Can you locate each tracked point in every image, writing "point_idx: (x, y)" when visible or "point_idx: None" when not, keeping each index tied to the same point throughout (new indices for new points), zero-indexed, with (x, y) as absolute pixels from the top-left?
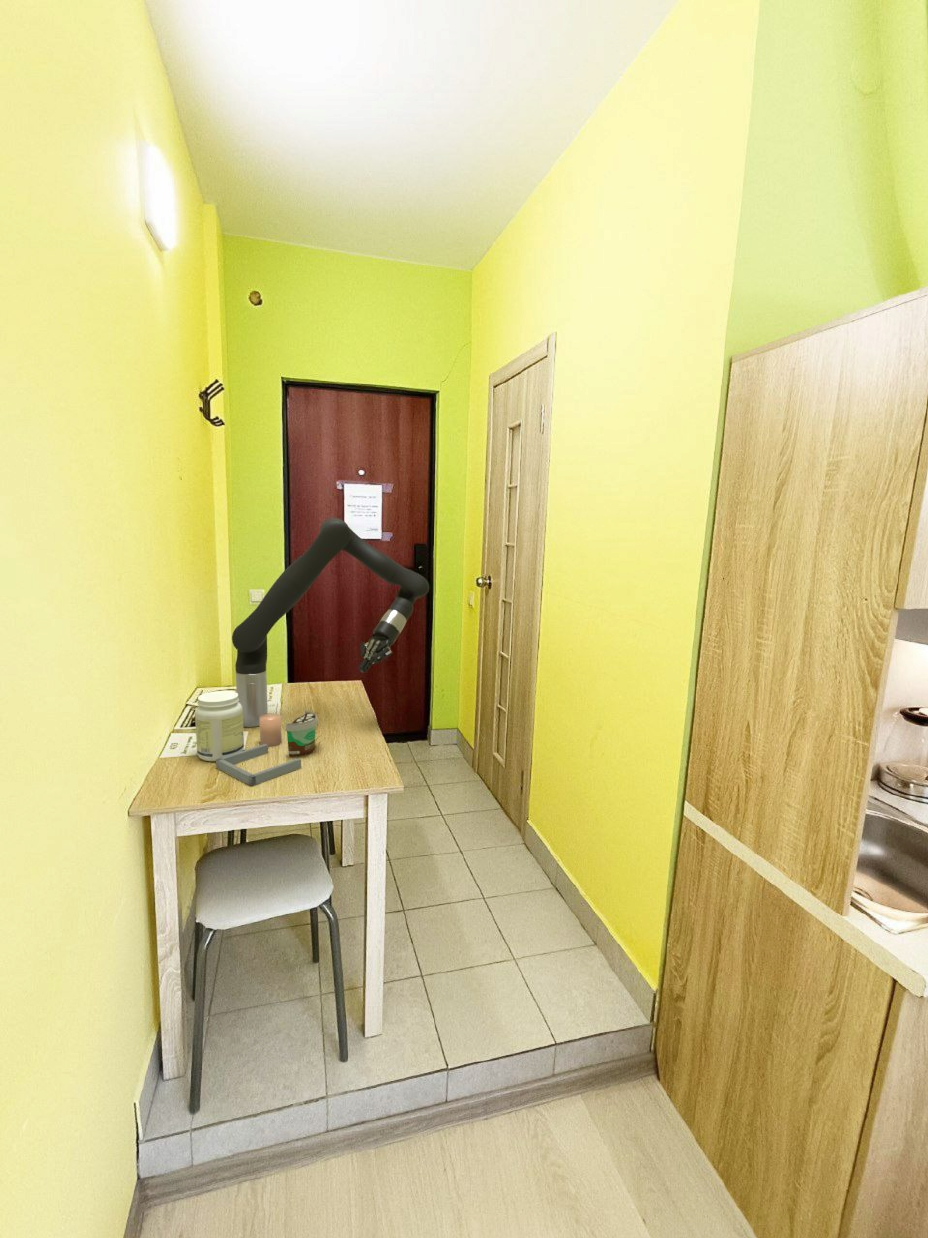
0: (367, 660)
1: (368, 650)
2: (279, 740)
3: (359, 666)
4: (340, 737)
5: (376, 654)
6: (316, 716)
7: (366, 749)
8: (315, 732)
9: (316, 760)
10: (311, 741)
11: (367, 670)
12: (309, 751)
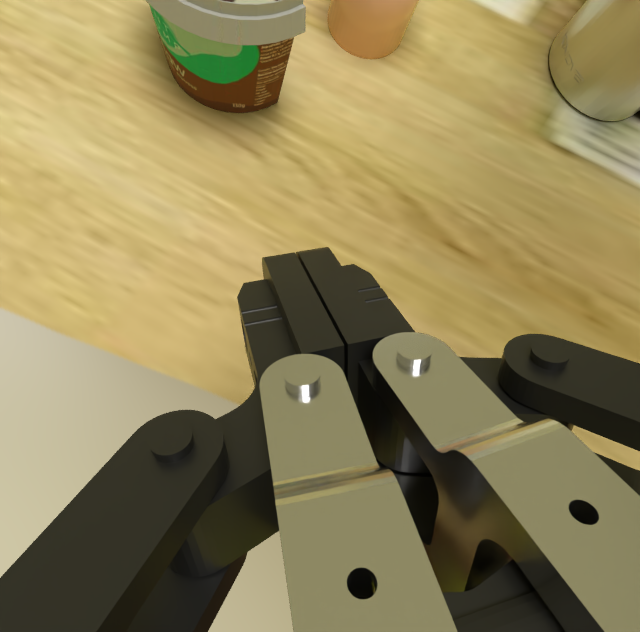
0: (297, 350)
1: (502, 459)
2: (336, 26)
3: (364, 273)
4: (257, 248)
5: (147, 539)
6: (205, 10)
7: (48, 264)
8: (182, 47)
9: (89, 53)
10: (160, 36)
11: (245, 344)
12: (167, 59)
